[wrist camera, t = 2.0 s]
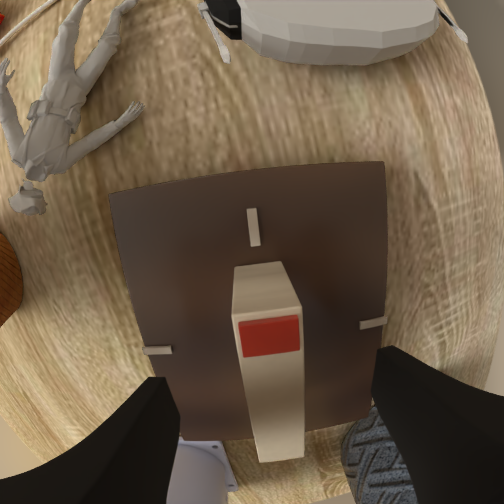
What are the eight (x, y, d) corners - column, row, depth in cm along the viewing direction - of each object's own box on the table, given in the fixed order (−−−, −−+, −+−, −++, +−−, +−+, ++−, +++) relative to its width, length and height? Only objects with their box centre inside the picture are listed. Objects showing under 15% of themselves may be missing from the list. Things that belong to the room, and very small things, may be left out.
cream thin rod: (60, -18, 8) (60, -10, 8) (69, -6, 9) (69, 2, 9) (-39, 70, 8) (-42, 83, 8) (-27, 77, 9) (-29, 90, 9)
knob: (291, 394, 13) (305, 461, 9) (254, 399, 13) (259, 467, 9) (281, 260, 11) (304, 310, 7) (234, 266, 11) (230, 320, 7)
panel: (355, 387, 17) (370, 418, 14) (188, 408, 16) (181, 443, 13) (358, 163, 13) (388, 161, 10) (132, 190, 13) (103, 194, 10)
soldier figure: (183, 18, 11) (125, 224, 11) (139, 55, 14) (90, 228, 14) (72, -34, 5) (-54, 191, 5) (45, 18, 8) (-36, 206, 8)
